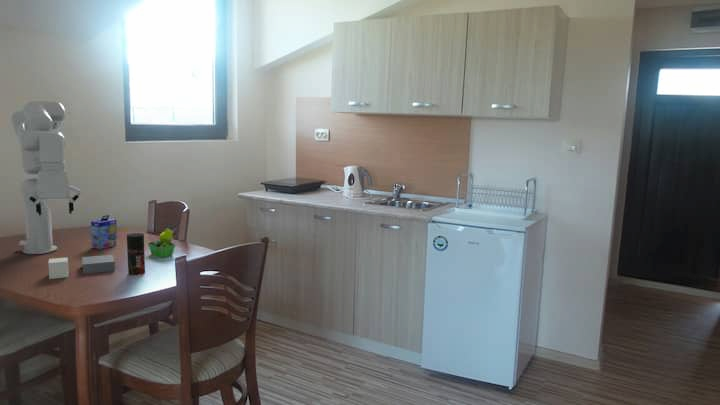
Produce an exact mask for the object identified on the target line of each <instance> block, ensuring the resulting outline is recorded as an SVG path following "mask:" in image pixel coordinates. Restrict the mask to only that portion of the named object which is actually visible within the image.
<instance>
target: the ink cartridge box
mask: <svg viewBox="0 0 720 405" xmlns="http://www.w3.org/2000/svg"><path fill="white" fill-rule="evenodd" d="M90 228H91V231H90V232H91V233H90V234H91V248H93V249H98V250H103V249H106V248H110V247H114V246H117V242H118V240H117V236H118V234H117V230H118V229H117V219H116V218H115V219H114V218H111V217H110V214H107V215H102V217H101V219H96V220H93V221H90Z"/></svg>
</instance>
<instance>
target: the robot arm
mask: <svg viewBox="0 0 720 405" xmlns="http://www.w3.org/2000/svg"><path fill="white" fill-rule="evenodd" d="M65 119H66V109H65V108H64V105H63V104H62V103H60V102H58V101H47V100H46V101H45V100H31V101H28V102H26V103H25V104H24V105H23V107H22V109H21V110H16V111H14V112H12V114H11V123H12V128H13V130H14V132H15V134H16V137H17V140H18V143H19V146H20V153H21V163H22V164H21V165H22V169H23V170H22V171H23V172H24V173H25V174H26V175H32V176H37V177H32V178H27V179H24V180H22V182H21V183H20V194H21V196H22V197H21V198H22V200H23V201H22V202H23V207H24V208H23V209H24V220H25V223H24V224H25V236H26V240H20V241H19V243H18V247H24V248H23V250H22V252H23V253H24V254H27V255H41V254H42V255H43V254H44V255H45V254H49V253H53V252H56V251H57V250H58V246H56V245H54V244H53V227H52V211H51V209H50V207H49V206H48V205H47V204H46V203H45V202H44V201H48V200H51V201H52V200H63V199H66V200H67V201H68V212H69V214H70V215H71V214H72V213H73V212H74V202H75V201H76V200H78V199H79V197H80V196H81V193H82V190H81V189H79V188H77V187H74V186H72V185H70V177H69V173H68V170H67V164H66V162H67V161H66V159H65V152H64V147H65V145H66V139H65V136H64V135H63V134H62V132H60V131H59V130H60V129H61V127H62V126H63V124H64V122H65V121H66V120H65ZM71 191H72V192H75V195H74V196H73V197H72V196H71Z"/></svg>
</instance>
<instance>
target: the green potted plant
mask: <svg viewBox="0 0 720 405" xmlns="http://www.w3.org/2000/svg"><path fill="white" fill-rule="evenodd" d="M173 233H174V232H173V231H172V229H170V228H165V229H164V231H162V232H161V233H160V234H159V236H158V237H159V240H156V241H150V242H147V245H148V247H149V251H150V254H151V255H153V256H156V257H157V258H160V259H164V258H168V257H169V256H170V257H173V254H174V249H175V248H176V244H174V243H173V242H172V241H173V236H174V235H173Z"/></svg>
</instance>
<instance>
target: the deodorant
mask: <svg viewBox="0 0 720 405" xmlns="http://www.w3.org/2000/svg"><path fill="white" fill-rule="evenodd" d="M126 247H127V248H126V249H127V250H126V251H127V272H128V273H127V274H128V275H129V276H141V275H144V274H145V273H146V261H145V260H146V258H145V234H144V233H140V232H134V233H128V234H126Z"/></svg>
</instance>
